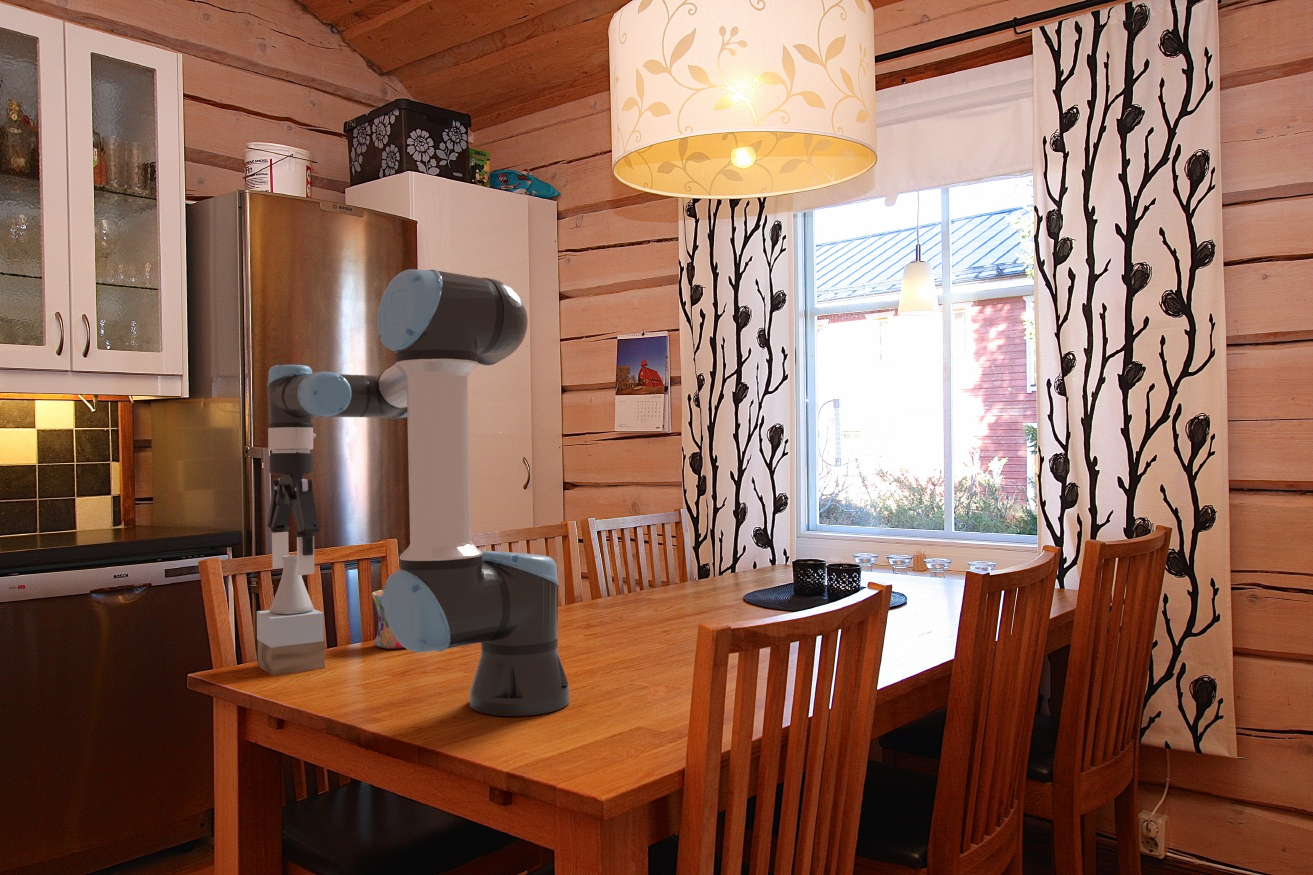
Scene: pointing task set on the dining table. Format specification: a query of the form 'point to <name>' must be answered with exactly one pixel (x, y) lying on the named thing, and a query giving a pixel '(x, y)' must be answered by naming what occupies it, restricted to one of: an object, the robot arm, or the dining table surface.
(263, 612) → the block top
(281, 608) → the flask
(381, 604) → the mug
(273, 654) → the block bottom
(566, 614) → the dining table surface
